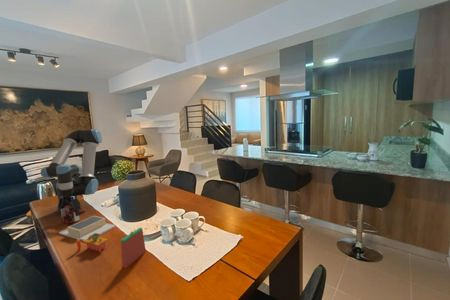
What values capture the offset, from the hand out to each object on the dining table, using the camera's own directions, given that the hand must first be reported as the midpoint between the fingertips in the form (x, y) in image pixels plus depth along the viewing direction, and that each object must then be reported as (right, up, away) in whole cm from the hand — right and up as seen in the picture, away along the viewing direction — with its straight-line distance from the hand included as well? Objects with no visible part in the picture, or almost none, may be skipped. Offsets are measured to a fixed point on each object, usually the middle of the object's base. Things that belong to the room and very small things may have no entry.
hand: (70, 219), depth 142 cm
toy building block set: (+45, -5, -35) cm, 58 cm away
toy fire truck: (0, -2, 0) cm, 2 cm away
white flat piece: (+20, -3, -12) cm, 23 cm away
